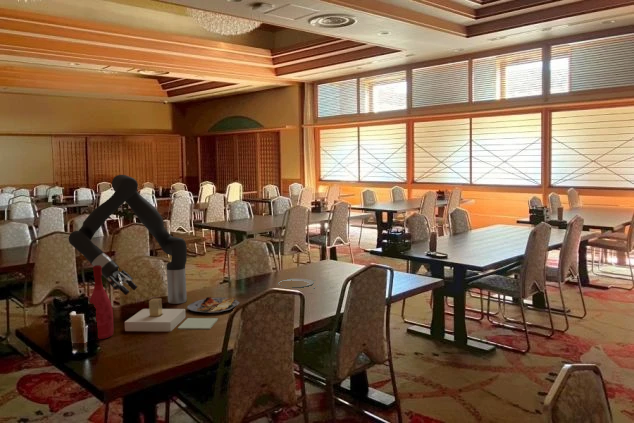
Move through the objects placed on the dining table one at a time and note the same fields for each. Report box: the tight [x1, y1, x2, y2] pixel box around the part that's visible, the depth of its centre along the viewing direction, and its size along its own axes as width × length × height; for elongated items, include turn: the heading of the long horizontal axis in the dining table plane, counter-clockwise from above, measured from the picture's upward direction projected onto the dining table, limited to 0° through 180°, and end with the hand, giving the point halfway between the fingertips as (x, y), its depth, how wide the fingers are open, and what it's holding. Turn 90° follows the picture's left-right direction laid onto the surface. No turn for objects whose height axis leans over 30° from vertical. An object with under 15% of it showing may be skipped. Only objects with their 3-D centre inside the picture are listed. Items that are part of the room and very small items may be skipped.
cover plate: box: [124, 308, 187, 332], centre depth 240 cm, size 20×20×4 cm
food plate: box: [186, 296, 240, 314], centre depth 265 cm, size 25×23×4 cm
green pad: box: [177, 317, 219, 330], centre depth 239 cm, size 14×14×1 cm
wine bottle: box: [89, 265, 115, 340], centre depth 224 cm, size 10×10×30 cm
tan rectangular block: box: [148, 298, 163, 317], centre depth 240 cm, size 5×4×11 cm
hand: (131, 291), depth 240 cm, fingers open, 8 cm apart
